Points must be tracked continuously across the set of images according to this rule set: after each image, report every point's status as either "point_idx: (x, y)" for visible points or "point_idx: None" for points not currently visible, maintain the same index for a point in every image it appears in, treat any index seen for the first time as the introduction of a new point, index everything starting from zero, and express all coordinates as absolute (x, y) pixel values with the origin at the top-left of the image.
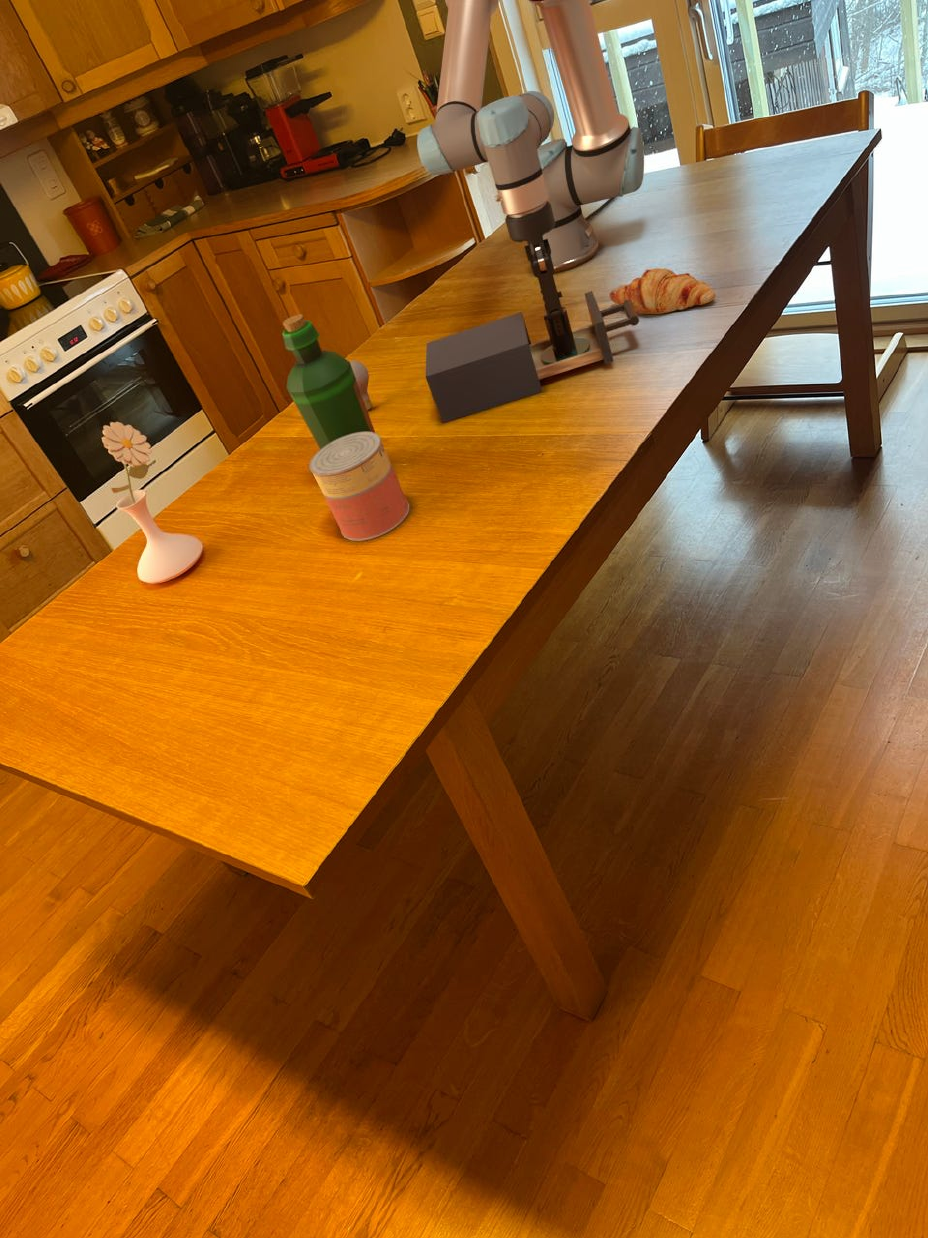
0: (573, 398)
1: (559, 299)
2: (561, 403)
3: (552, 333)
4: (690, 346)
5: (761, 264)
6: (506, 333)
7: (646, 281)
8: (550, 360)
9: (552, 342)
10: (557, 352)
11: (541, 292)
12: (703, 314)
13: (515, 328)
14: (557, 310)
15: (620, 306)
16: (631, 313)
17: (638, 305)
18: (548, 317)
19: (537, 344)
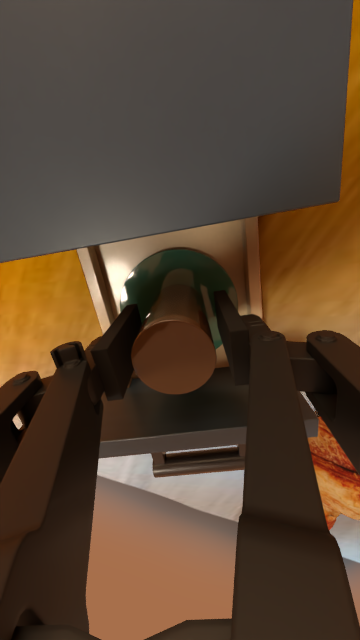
0: (30, 314)
1: (248, 383)
2: (16, 293)
3: (109, 327)
4: (143, 469)
5: (345, 545)
6: (125, 142)
7: (336, 492)
8: (138, 278)
9: (155, 300)
10: (125, 306)
11: (319, 336)
12: (238, 487)
13: (158, 188)
14: (22, 421)
15: (239, 451)
16: (172, 472)
17: (309, 438)
18: (15, 376)
19: (245, 236)
